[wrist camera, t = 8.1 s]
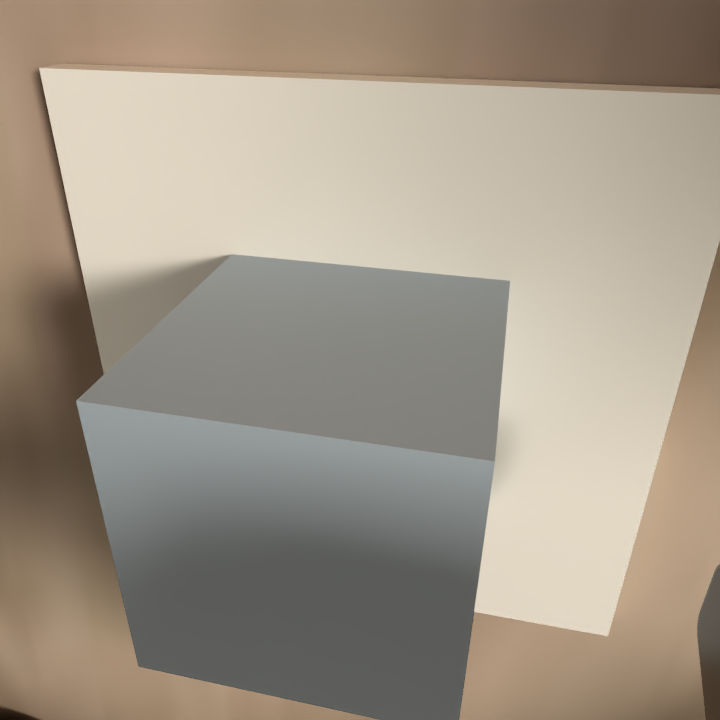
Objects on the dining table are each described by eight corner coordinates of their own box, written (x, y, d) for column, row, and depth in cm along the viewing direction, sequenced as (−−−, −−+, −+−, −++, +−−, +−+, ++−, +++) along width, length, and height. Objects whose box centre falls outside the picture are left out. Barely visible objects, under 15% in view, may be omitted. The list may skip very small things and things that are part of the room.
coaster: (749, 88, 8) (760, 96, 8) (605, 613, 12) (607, 636, 12) (61, 63, 10) (38, 67, 9) (153, 533, 14) (141, 551, 14)
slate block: (509, 280, 9) (495, 461, 6) (480, 504, 11) (456, 735, 8) (232, 254, 10) (76, 400, 7) (251, 469, 12) (138, 666, 9)
